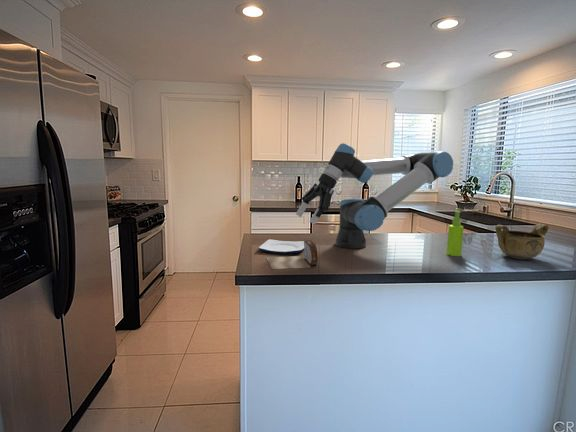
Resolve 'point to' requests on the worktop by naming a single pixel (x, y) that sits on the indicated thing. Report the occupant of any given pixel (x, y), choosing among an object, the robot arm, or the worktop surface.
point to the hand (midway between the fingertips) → (304, 219)
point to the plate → (282, 247)
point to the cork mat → (287, 262)
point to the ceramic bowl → (521, 241)
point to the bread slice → (310, 252)
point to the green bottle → (455, 236)
